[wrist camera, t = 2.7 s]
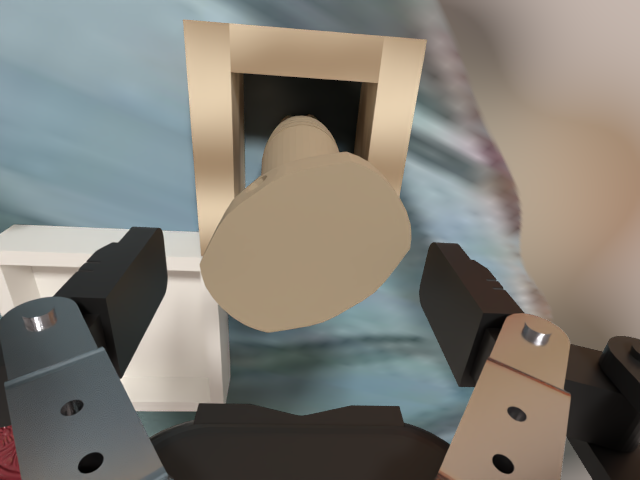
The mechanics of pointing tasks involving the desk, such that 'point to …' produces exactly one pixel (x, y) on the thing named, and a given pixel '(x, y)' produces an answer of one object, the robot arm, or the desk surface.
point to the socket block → (295, 61)
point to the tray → (166, 326)
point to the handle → (305, 233)
